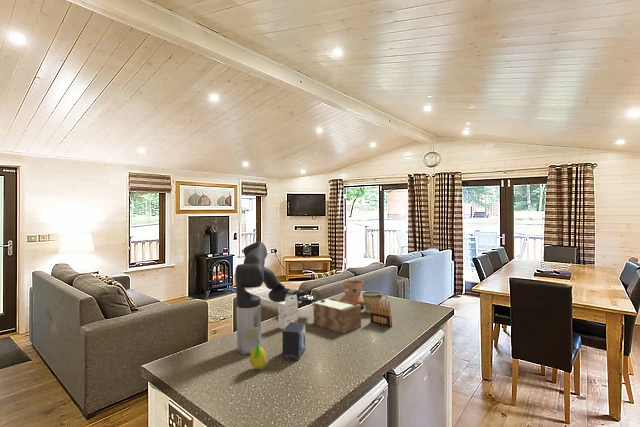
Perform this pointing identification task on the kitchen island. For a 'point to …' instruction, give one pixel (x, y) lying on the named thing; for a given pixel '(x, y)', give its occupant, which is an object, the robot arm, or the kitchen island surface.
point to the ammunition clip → (380, 313)
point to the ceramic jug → (353, 291)
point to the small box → (293, 341)
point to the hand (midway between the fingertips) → (319, 302)
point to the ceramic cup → (368, 297)
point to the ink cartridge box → (288, 311)
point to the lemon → (258, 357)
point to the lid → (333, 304)
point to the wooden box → (338, 317)
